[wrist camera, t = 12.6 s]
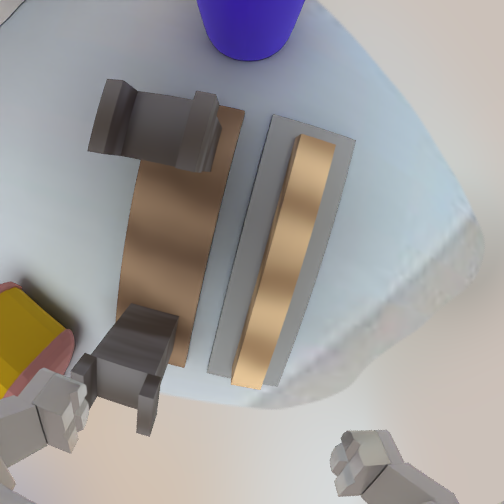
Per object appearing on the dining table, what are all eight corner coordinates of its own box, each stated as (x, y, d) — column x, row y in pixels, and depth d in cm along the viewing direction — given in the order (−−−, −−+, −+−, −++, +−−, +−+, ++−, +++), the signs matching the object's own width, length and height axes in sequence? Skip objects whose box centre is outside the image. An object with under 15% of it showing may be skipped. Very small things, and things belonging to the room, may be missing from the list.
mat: (272, 115, 27) (273, 114, 26) (353, 141, 28) (355, 140, 27) (207, 368, 33) (206, 373, 32) (276, 382, 34) (277, 386, 33)
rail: (295, 137, 27) (301, 133, 24) (326, 147, 27) (336, 144, 24) (231, 367, 32) (230, 384, 29) (258, 373, 33) (260, 389, 30)
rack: (162, 97, 26) (103, 45, 13) (244, 114, 27) (246, 63, 13) (118, 341, 32) (65, 422, 19) (186, 360, 33) (161, 455, 19)
